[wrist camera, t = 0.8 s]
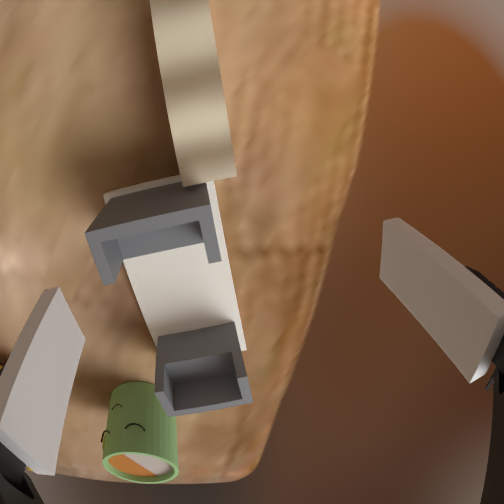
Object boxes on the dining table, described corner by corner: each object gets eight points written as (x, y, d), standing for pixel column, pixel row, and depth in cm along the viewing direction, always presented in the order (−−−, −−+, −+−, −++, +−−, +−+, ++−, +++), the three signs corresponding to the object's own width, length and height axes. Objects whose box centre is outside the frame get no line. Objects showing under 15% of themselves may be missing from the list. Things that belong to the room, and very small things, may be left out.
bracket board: (105, 192, 30) (73, 228, 21) (211, 168, 31) (219, 195, 22) (164, 360, 40) (163, 420, 31) (245, 344, 41) (260, 403, 33)
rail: (155, 11, 23) (148, -9, 18) (202, 2, 24) (205, -19, 18) (184, 172, 31) (182, 187, 26) (229, 163, 31) (237, 176, 26)
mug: (149, 371, 41) (145, 444, 30) (187, 410, 46) (193, 475, 35) (85, 394, 41) (72, 459, 31) (126, 429, 46) (122, 488, 35)
